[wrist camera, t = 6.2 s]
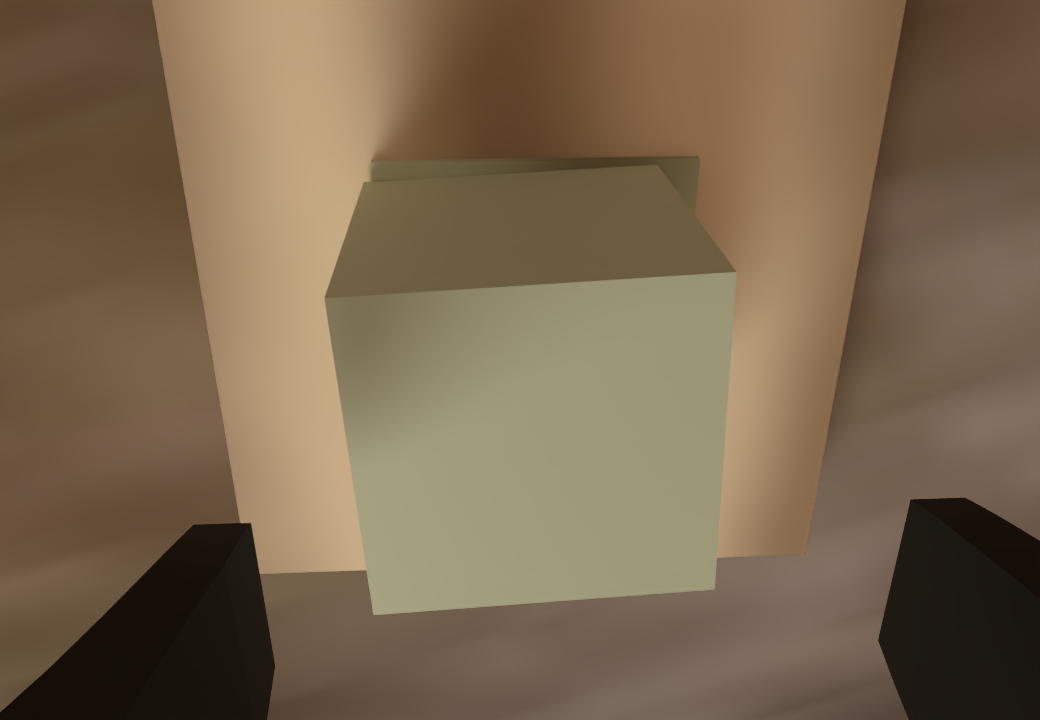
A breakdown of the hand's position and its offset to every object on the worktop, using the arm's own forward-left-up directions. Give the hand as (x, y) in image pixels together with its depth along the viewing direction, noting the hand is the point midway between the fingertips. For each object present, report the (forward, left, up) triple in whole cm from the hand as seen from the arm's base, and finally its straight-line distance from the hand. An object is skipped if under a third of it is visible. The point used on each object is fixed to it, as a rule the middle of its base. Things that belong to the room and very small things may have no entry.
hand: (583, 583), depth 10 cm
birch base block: (0, 0, -11) cm, 11 cm away
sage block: (0, 0, -7) cm, 7 cm away
